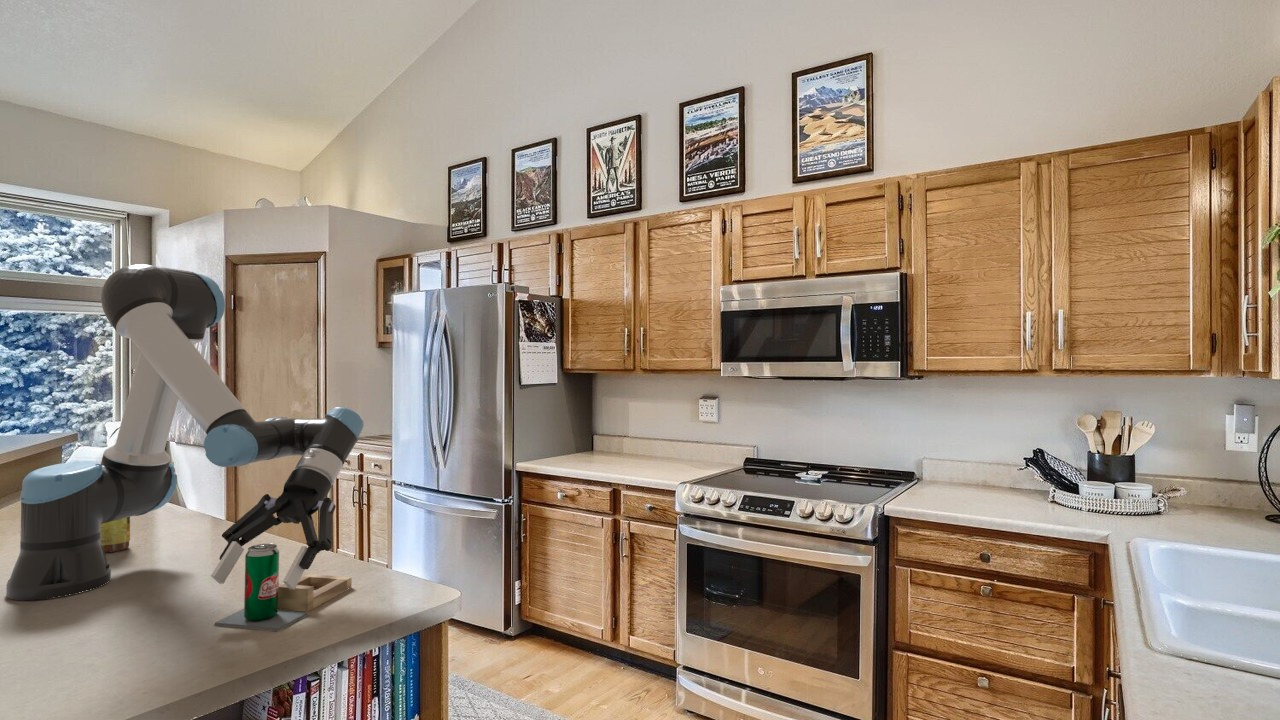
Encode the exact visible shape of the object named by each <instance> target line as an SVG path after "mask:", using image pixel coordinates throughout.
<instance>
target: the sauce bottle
mask: <svg viewBox="0 0 1280 720" xmlns="http://www.w3.org/2000/svg"><path fill="white" fill-rule="evenodd" d="M130 540H131V517H127V518H123V519H119V520H115V521H110V522H106V523H102V524H101V529H100V542H101V546H102V548H103V550H104V553H105V554H107V553H109V552H110V553H115V552H120V551H124V550H126V549H128V548H129V547H130Z"/></svg>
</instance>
